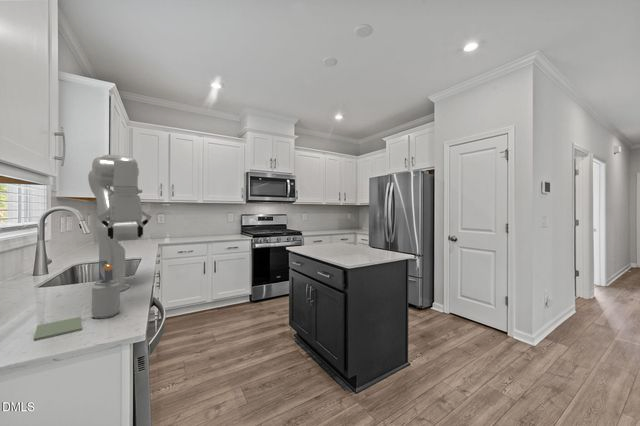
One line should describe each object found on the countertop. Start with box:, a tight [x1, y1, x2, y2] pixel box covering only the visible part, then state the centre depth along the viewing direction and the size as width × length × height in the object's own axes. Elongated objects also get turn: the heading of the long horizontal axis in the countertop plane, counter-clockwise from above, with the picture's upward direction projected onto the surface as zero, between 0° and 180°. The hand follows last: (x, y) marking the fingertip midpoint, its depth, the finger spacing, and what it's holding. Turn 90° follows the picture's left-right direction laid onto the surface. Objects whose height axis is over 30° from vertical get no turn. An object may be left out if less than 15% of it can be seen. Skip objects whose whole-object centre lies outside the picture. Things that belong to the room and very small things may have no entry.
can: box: [91, 279, 121, 319], centre depth 93 cm, size 8×8×12 cm
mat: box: [33, 316, 83, 341], centre depth 82 cm, size 12×10×1 cm
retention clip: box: [98, 260, 113, 281], centre depth 94 cm, size 22×3×17 cm, turn 43°
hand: (125, 237), depth 102 cm, fingers open, 8 cm apart
